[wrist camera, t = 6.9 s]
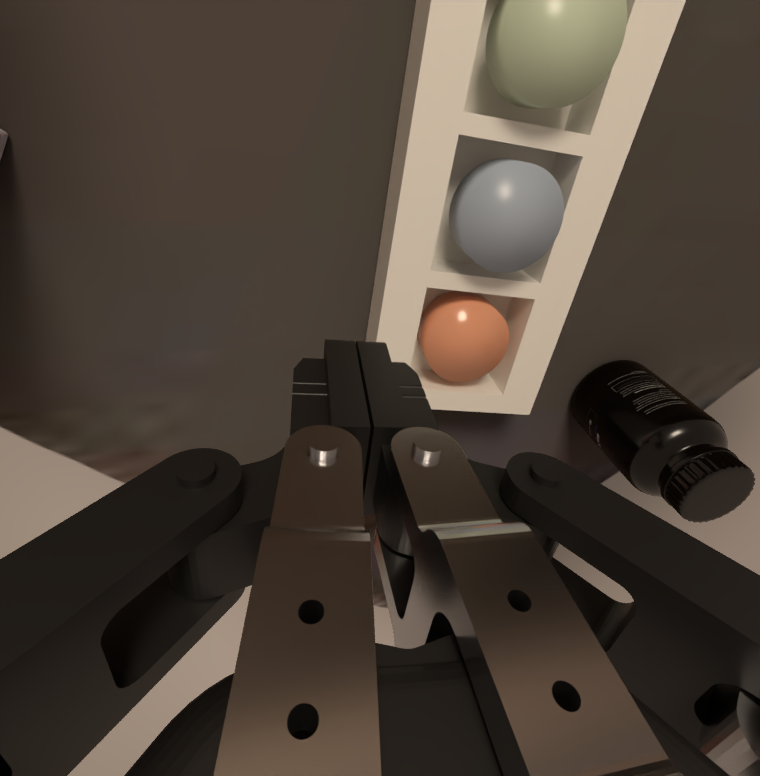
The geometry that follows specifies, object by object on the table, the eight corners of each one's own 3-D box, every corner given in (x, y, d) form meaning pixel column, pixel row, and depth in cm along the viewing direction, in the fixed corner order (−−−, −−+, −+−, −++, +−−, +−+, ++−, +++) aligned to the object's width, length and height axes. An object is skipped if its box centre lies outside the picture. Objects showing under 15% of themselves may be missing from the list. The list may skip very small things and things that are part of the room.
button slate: (461, 150, 24) (477, 153, 22) (556, 166, 25) (579, 171, 23) (439, 254, 27) (450, 266, 25) (525, 265, 28) (543, 278, 26)
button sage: (504, -48, 20) (527, -68, 18) (613, -19, 21) (648, -35, 19) (473, 98, 23) (490, 96, 21) (571, 117, 24) (597, 117, 22)
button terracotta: (425, 285, 30) (435, 299, 27) (505, 294, 31) (520, 307, 28) (410, 361, 32) (417, 379, 30) (483, 366, 33) (495, 384, 31)
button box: (432, -109, 21) (455, -152, 18) (654, -46, 23) (713, -74, 20) (360, 376, 34) (365, 405, 30) (508, 386, 36) (529, 414, 33)
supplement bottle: (553, 418, 38) (641, 526, 28) (597, 348, 35) (713, 441, 25) (617, 433, 40) (721, 540, 30) (664, 368, 37) (797, 463, 27)
